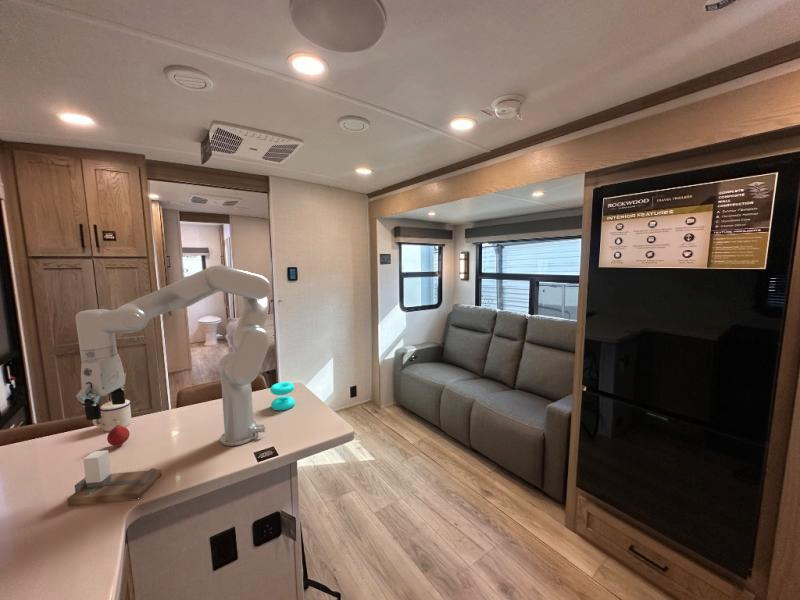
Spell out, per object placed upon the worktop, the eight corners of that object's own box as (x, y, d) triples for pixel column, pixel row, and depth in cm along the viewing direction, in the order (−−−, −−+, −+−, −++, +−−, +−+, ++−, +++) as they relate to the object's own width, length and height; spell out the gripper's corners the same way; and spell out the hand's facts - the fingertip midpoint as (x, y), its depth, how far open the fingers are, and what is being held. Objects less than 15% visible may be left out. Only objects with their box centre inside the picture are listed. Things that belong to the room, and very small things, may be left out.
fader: (112, 478, 92) (109, 450, 91) (102, 487, 88) (98, 457, 87) (96, 480, 91) (93, 451, 90) (85, 488, 88) (82, 458, 87)
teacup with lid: (123, 419, 133) (120, 392, 132) (137, 422, 130) (135, 394, 129) (87, 433, 122) (83, 403, 121) (102, 437, 119) (99, 407, 118)
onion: (117, 451, 110) (115, 429, 109) (103, 449, 111) (101, 427, 110) (134, 442, 115) (132, 421, 114) (121, 441, 116) (119, 419, 116)
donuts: (293, 387, 140) (268, 390, 137) (294, 410, 141) (269, 412, 138) (294, 380, 149) (271, 382, 147) (295, 401, 150) (273, 403, 148)
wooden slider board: (161, 475, 96) (160, 463, 96) (139, 499, 87) (137, 485, 86) (98, 481, 94) (96, 468, 94) (68, 506, 84) (66, 491, 84)
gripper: (90, 361, 83) (99, 424, 85) (134, 344, 100) (140, 397, 102) (56, 363, 82) (66, 427, 83) (106, 346, 99) (114, 400, 100)
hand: (107, 411), depth 93 cm, fingers open, 9 cm apart
